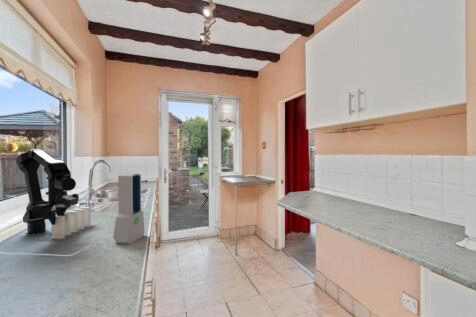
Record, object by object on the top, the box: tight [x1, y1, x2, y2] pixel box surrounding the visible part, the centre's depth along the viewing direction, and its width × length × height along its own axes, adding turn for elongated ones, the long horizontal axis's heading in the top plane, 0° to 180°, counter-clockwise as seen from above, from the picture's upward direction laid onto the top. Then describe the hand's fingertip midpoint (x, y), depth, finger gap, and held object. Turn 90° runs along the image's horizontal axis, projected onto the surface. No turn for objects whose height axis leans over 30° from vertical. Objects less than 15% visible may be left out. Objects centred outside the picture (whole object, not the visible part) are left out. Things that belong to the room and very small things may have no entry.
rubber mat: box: [36, 224, 99, 243], centre depth 114 cm, size 12×24×1 cm, turn 175°
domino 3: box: [65, 210, 78, 232], centre depth 115 cm, size 5×2×10 cm, turn 85°
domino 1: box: [51, 215, 65, 239], centre depth 106 cm, size 5×2×10 cm, turn 85°
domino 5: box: [78, 206, 92, 227], centre depth 124 cm, size 5×2×10 cm, turn 85°
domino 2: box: [64, 212, 71, 235], centre depth 111 cm, size 5×2×10 cm, turn 85°
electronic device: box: [112, 173, 146, 245], centre depth 106 cm, size 12×8×30 cm, turn 168°
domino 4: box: [72, 208, 85, 229], centre depth 120 cm, size 5×2×10 cm, turn 85°
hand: (56, 223), depth 106 cm, fingers open, 3 cm apart
